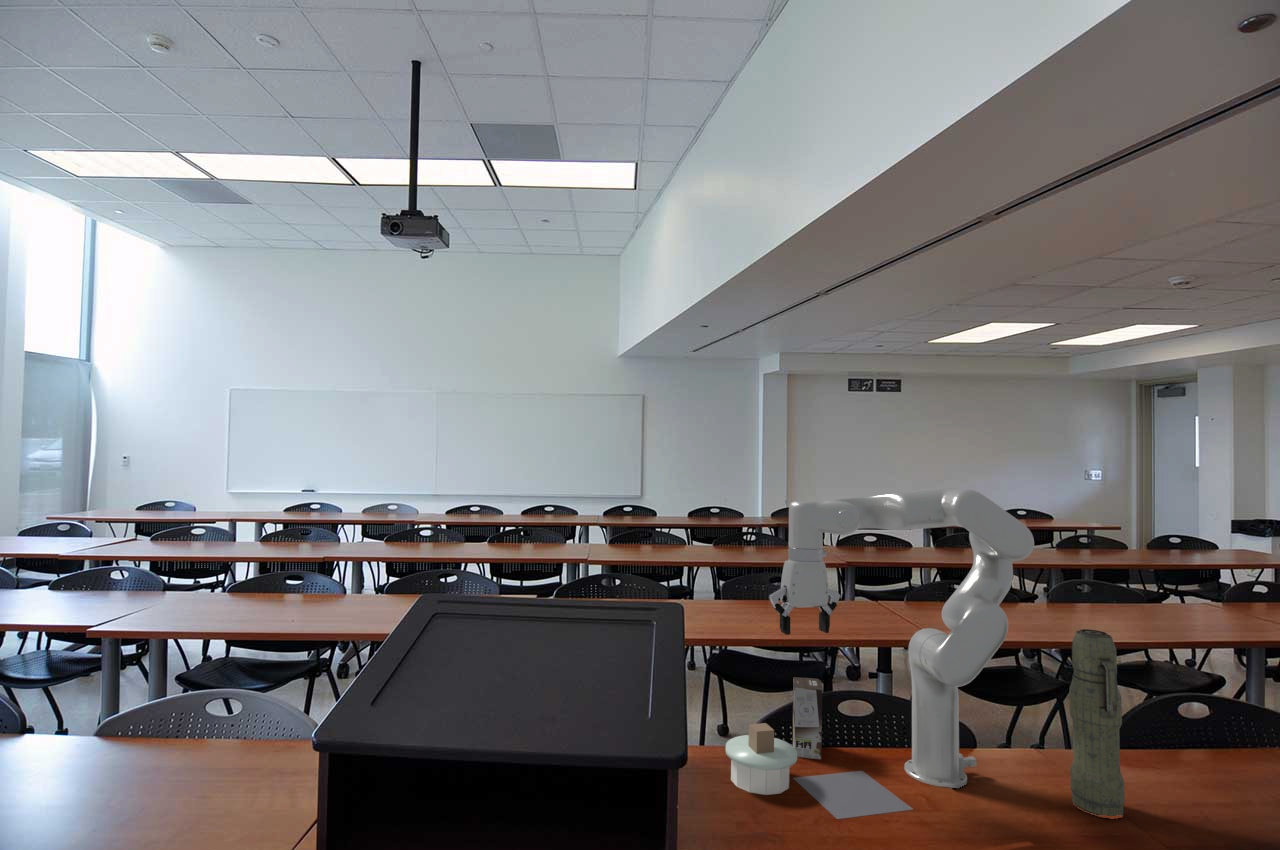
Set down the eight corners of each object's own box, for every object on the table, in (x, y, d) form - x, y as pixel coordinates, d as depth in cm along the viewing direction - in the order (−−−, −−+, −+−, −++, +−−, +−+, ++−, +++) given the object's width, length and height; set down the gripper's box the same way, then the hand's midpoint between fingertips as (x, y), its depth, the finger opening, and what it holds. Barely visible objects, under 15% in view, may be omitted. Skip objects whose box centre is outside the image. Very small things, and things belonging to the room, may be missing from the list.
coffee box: (822, 762, 149) (822, 689, 150) (793, 758, 150) (794, 687, 151) (819, 746, 158) (820, 678, 159) (792, 743, 159) (793, 675, 160)
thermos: (1097, 794, 137) (1093, 625, 140) (1141, 824, 125) (1136, 639, 128) (1056, 793, 137) (1053, 624, 140) (1096, 823, 125) (1092, 638, 128)
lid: (776, 737, 147) (776, 712, 148) (810, 766, 133) (811, 738, 133) (714, 742, 143) (715, 716, 144) (743, 772, 129) (743, 744, 129)
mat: (862, 773, 144) (862, 770, 144) (913, 812, 127) (913, 809, 127) (792, 780, 139) (793, 777, 139) (837, 822, 123) (837, 818, 123)
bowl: (772, 768, 145) (772, 740, 145) (799, 793, 133) (799, 763, 134) (722, 772, 142) (723, 744, 142) (746, 799, 130) (746, 768, 131)
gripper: (829, 553, 153) (829, 627, 152) (763, 553, 149) (762, 630, 147) (848, 557, 146) (848, 635, 145) (778, 558, 141) (777, 638, 140)
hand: (804, 632), depth 146 cm, fingers open, 9 cm apart
